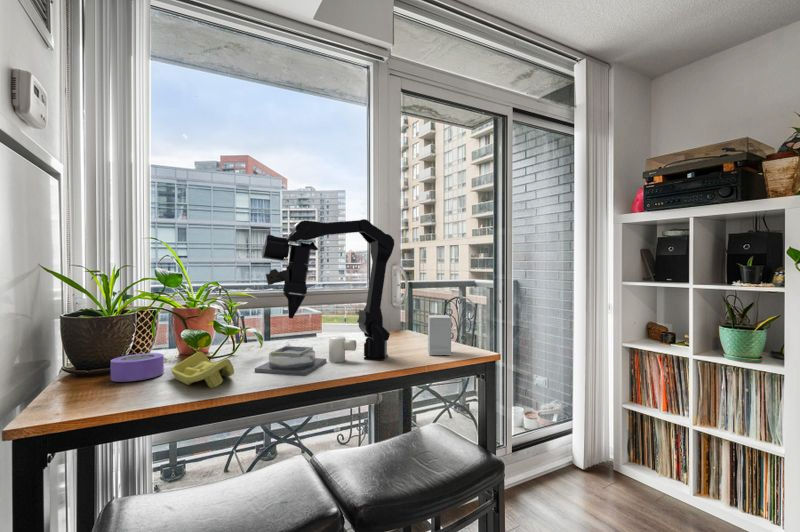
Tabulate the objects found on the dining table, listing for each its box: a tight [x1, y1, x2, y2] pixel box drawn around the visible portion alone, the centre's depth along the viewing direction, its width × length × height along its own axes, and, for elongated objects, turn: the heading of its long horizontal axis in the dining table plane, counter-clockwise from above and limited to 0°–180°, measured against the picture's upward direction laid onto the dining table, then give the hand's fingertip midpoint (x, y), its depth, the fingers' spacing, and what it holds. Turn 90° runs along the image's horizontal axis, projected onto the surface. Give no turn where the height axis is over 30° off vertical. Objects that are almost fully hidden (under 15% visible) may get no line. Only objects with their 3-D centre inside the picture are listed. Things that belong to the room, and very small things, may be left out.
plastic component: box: [170, 351, 235, 389], centre depth 103 cm, size 20×7×10 cm
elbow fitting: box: [328, 336, 357, 364], centre depth 125 cm, size 8×5×7 cm, turn 79°
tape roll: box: [110, 352, 165, 383], centre depth 107 cm, size 12×12×5 cm
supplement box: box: [427, 314, 452, 356], centre depth 136 cm, size 7×7×13 cm
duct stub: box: [254, 345, 327, 376], centre depth 118 cm, size 15×15×5 cm
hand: (290, 316), depth 118 cm, fingers open, 9 cm apart
